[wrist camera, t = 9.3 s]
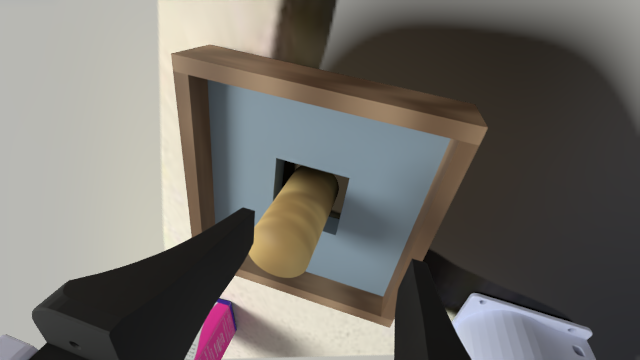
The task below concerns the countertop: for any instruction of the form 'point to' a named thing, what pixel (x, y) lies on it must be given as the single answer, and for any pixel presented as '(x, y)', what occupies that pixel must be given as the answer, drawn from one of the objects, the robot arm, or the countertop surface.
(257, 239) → the peg
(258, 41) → the countertop surface
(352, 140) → the bore plate
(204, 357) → the supplement box
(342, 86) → the tray
